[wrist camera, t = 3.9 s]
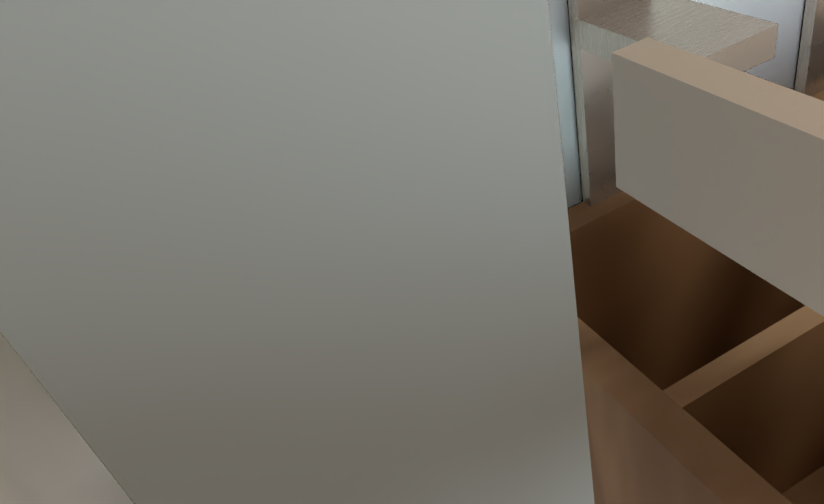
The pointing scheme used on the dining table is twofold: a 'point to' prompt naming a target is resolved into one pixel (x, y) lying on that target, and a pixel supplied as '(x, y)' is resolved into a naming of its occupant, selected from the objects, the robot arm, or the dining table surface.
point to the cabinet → (692, 367)
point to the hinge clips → (677, 26)
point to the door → (295, 247)
